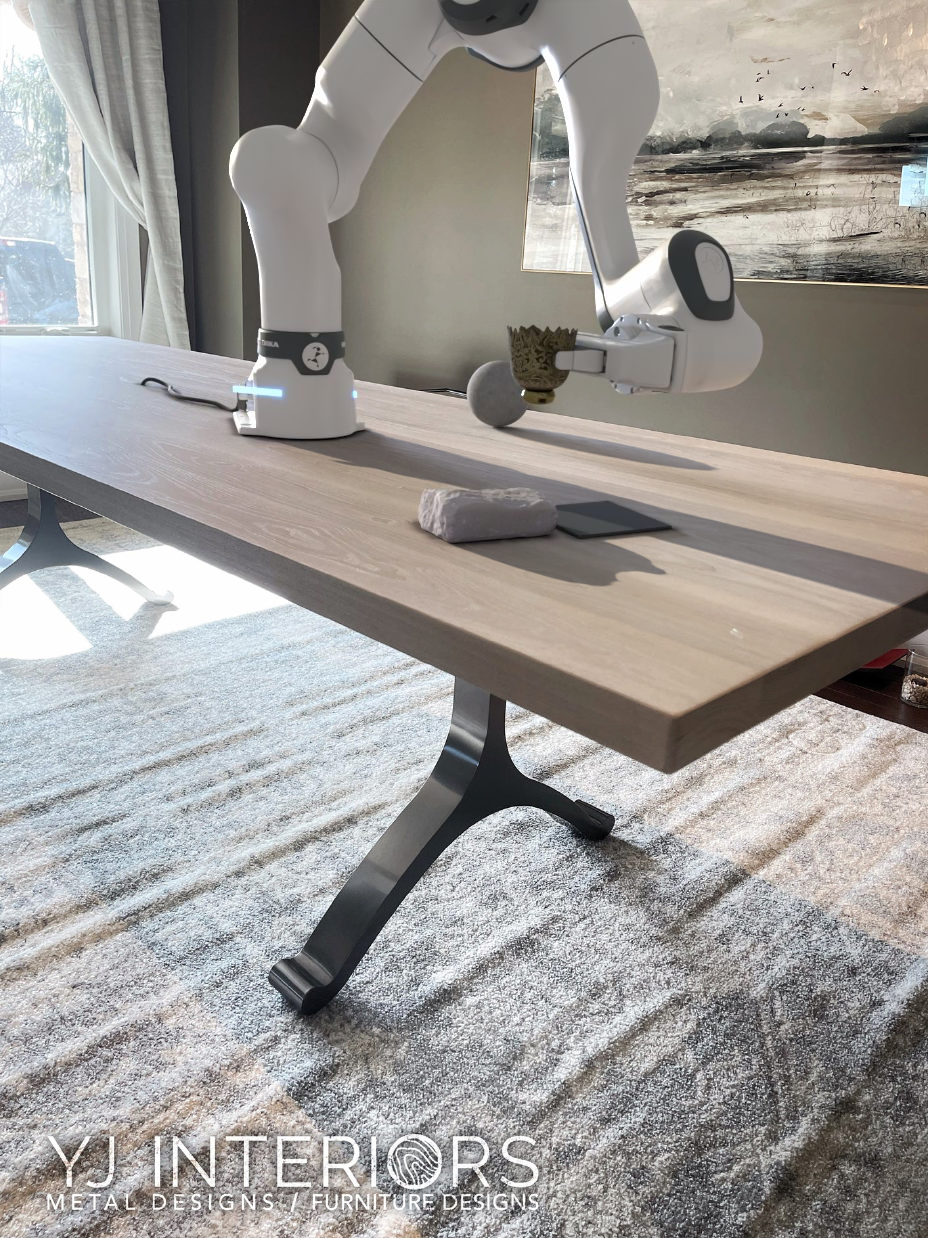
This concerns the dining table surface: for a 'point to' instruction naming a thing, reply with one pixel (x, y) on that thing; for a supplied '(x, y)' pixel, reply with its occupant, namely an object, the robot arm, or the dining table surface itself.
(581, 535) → the slate coaster
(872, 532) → the dining table surface
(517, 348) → the cup
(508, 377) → the decorative ball
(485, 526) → the stone block
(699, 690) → the dining table surface
